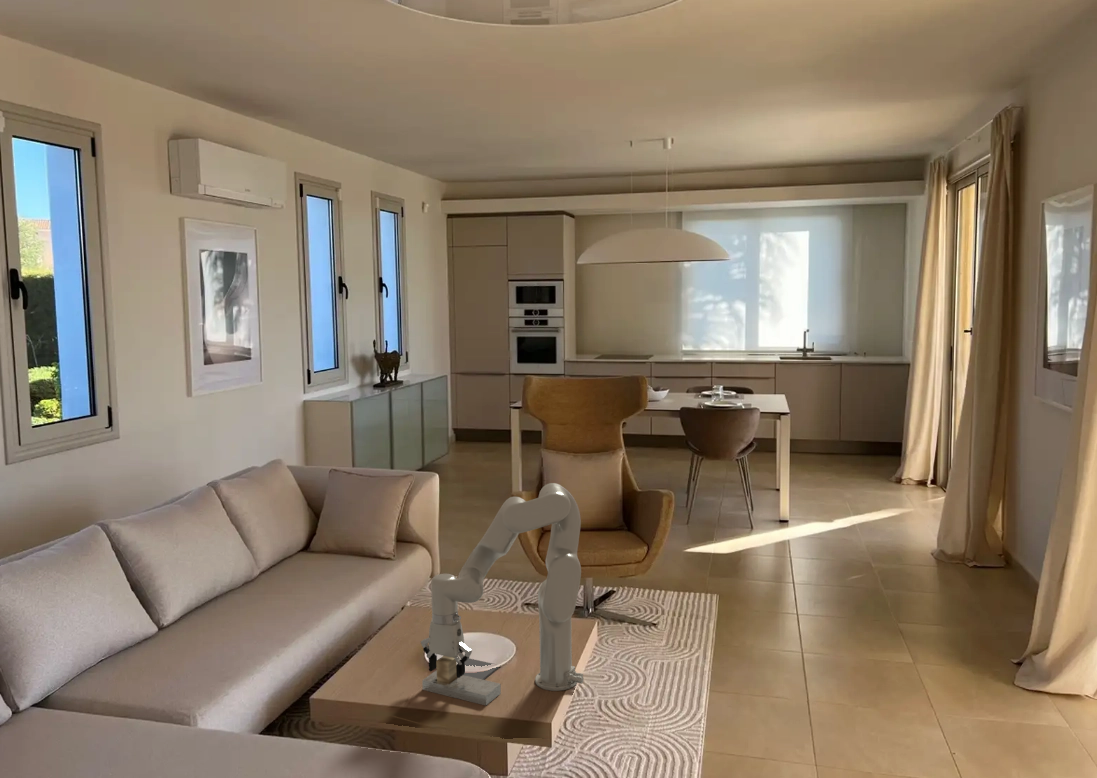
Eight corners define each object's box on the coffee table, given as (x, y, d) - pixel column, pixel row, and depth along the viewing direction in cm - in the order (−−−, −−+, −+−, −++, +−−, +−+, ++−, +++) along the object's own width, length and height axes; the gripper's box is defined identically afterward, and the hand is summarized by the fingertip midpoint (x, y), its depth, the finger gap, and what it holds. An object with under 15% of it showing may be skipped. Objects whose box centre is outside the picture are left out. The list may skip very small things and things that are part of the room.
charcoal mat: (500, 667, 262) (500, 665, 262) (480, 683, 252) (479, 681, 251) (468, 659, 268) (468, 658, 268) (446, 675, 257) (446, 673, 257)
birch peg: (457, 686, 249) (456, 657, 248) (449, 692, 246) (448, 663, 245) (445, 683, 251) (444, 655, 250) (437, 689, 248) (436, 660, 247)
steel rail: (500, 693, 245) (500, 683, 244) (486, 705, 238) (486, 695, 237) (438, 678, 255) (438, 669, 255) (422, 689, 248) (422, 680, 248)
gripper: (476, 617, 245) (478, 673, 247) (428, 607, 253) (430, 662, 255) (462, 626, 239) (464, 683, 241) (413, 616, 247) (415, 672, 249)
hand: (446, 672), depth 248 cm, fingers open, 9 cm apart
